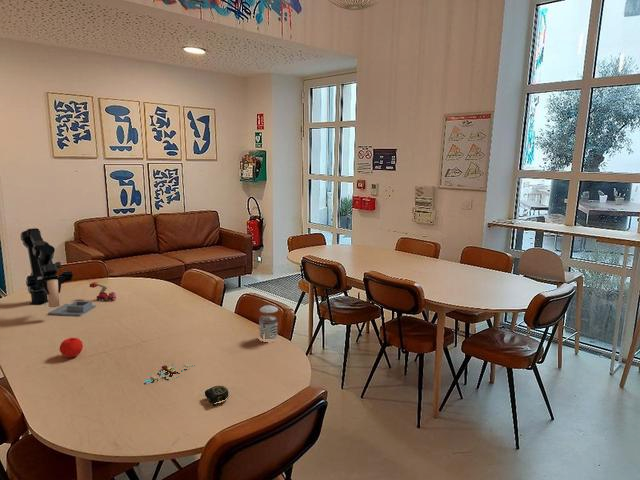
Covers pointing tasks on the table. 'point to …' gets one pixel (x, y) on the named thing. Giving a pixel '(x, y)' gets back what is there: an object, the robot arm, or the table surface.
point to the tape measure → (216, 394)
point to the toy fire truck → (103, 293)
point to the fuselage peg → (53, 293)
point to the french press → (268, 321)
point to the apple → (71, 347)
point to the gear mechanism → (168, 369)
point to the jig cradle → (73, 309)
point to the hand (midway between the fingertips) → (54, 293)
